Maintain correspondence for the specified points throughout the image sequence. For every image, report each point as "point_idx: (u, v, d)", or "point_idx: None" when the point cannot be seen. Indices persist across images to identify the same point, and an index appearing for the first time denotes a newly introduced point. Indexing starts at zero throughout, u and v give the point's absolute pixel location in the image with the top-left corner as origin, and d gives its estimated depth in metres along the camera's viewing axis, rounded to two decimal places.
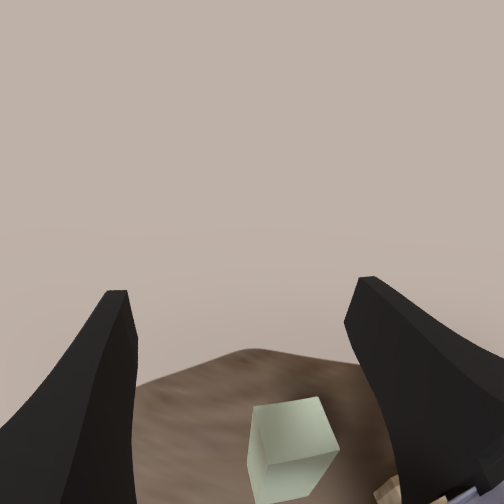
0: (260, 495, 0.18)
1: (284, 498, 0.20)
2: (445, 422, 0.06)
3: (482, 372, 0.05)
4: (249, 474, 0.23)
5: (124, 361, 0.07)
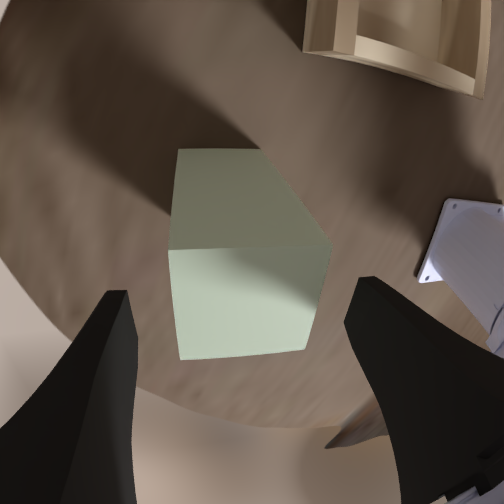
0: None
1: None
2: (445, 422, 0.06)
3: (482, 372, 0.05)
4: None
5: (124, 361, 0.07)
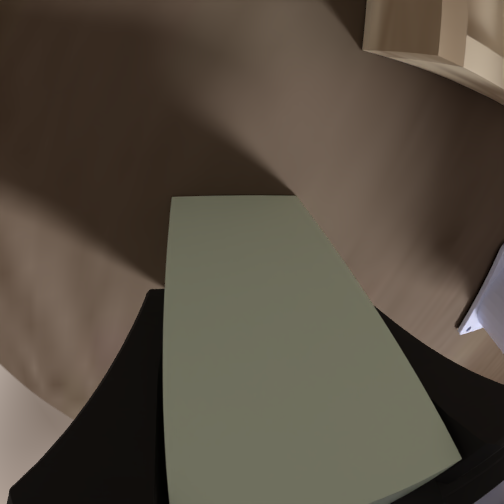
0: None
1: None
2: None
3: (446, 388, 0.05)
4: None
5: None
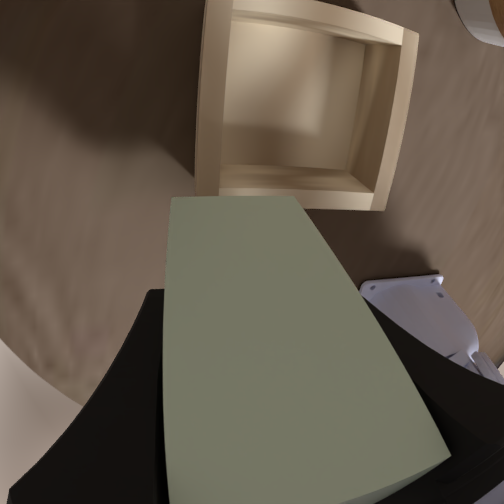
0: None
1: None
2: None
3: (446, 388, 0.05)
4: None
5: None
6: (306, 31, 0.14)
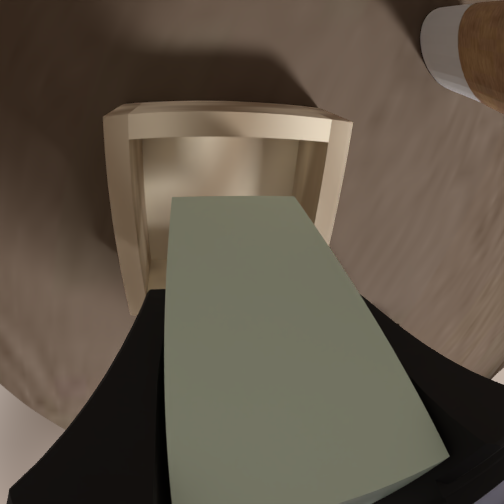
0: None
1: None
2: None
3: (445, 388, 0.05)
4: None
5: None
6: None
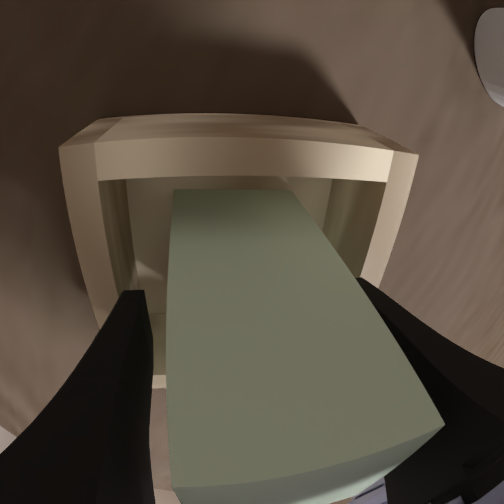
0: None
1: None
2: None
3: (469, 378, 0.05)
4: None
5: (142, 361, 0.08)
6: None
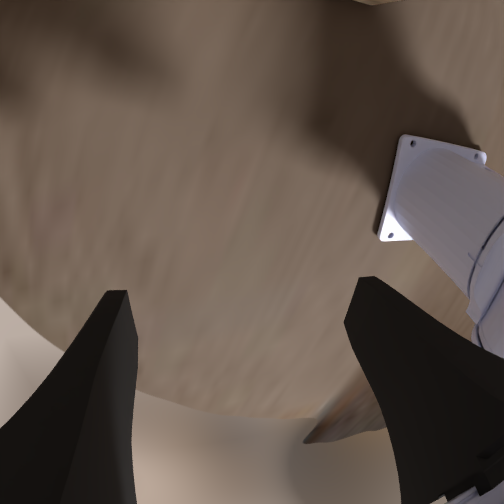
0: None
1: None
2: (445, 422, 0.06)
3: (483, 371, 0.05)
4: None
5: (124, 361, 0.07)
6: None
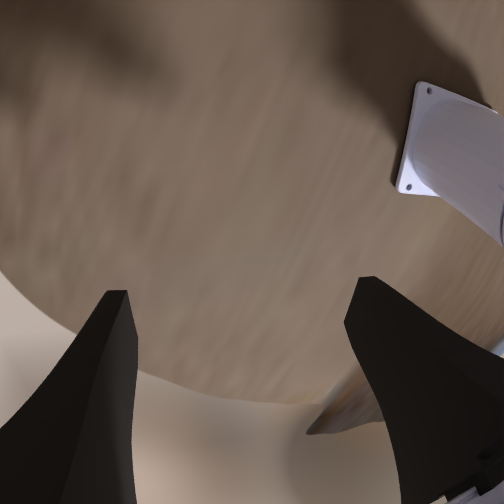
0: None
1: None
2: (445, 422, 0.06)
3: (482, 372, 0.05)
4: None
5: (124, 361, 0.07)
6: None
